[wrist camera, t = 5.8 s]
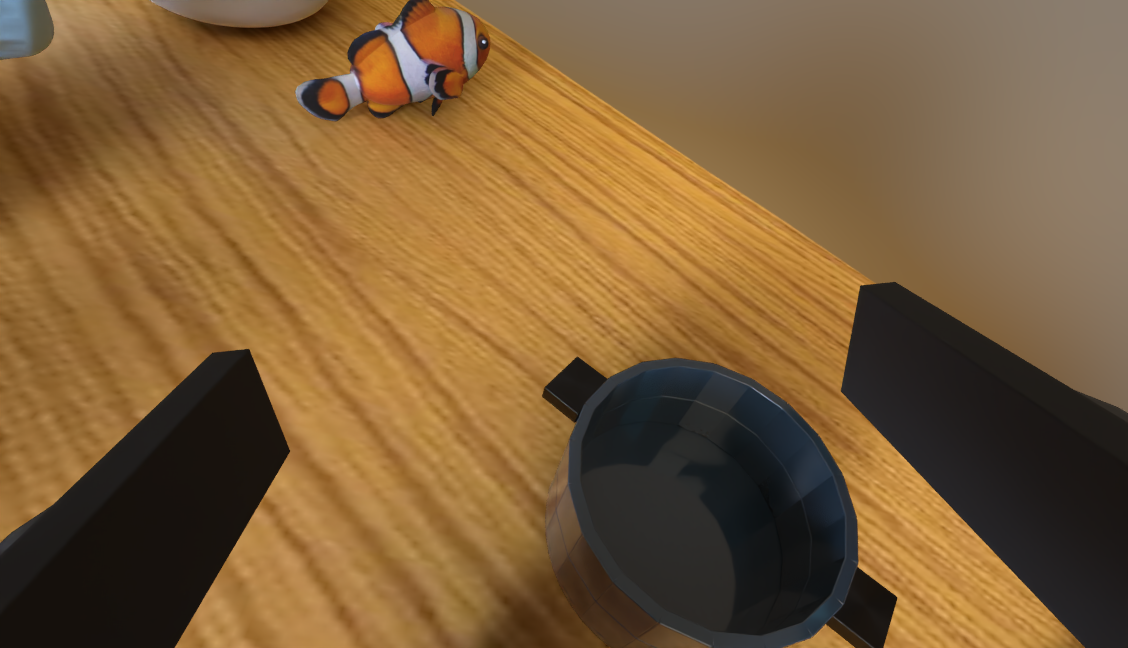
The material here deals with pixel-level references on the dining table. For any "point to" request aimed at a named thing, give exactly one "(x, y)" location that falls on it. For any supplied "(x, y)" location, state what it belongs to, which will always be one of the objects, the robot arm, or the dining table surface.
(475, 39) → the fish
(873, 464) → the dining table surface
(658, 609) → the pot
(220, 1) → the serving bowl
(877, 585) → the pot handles
